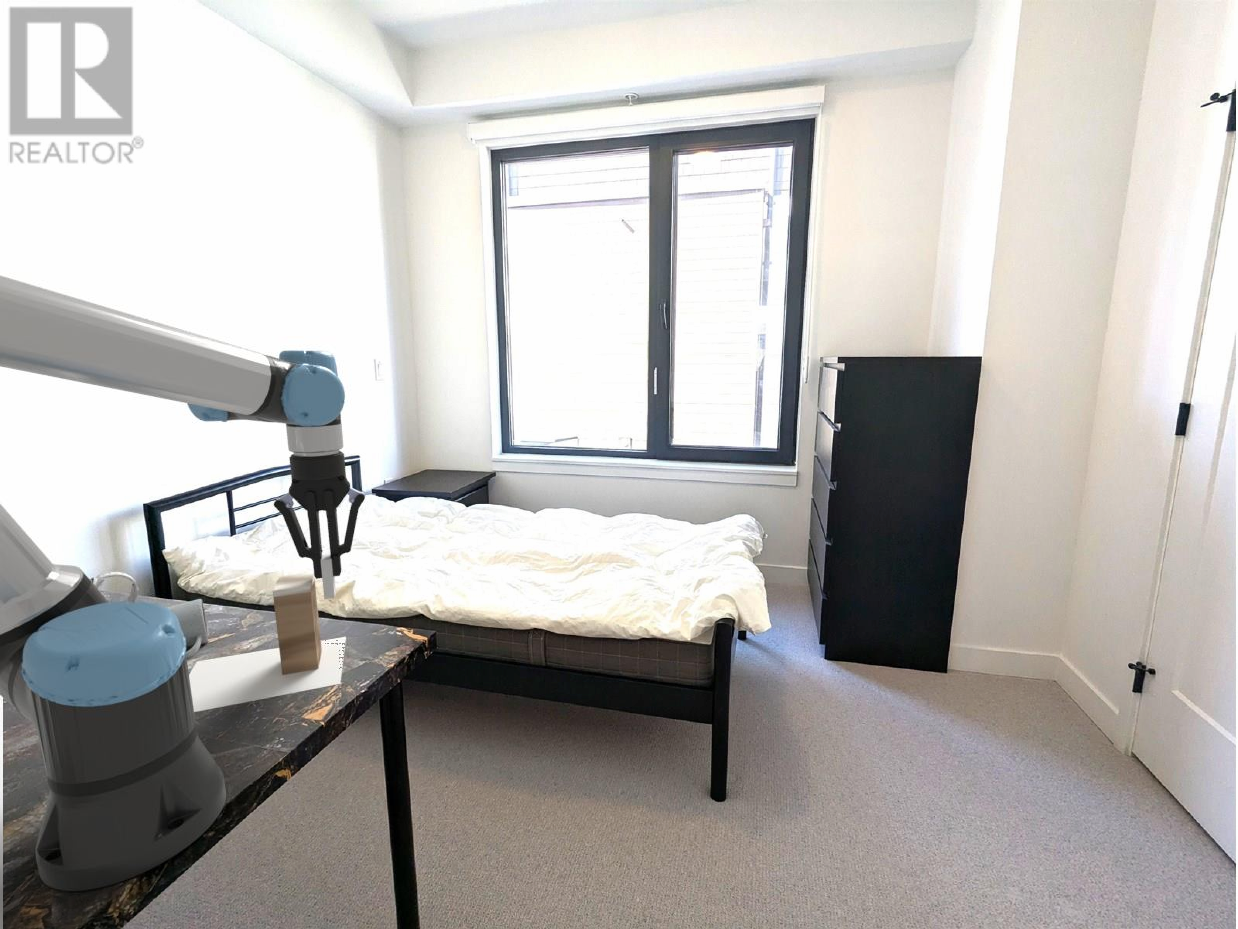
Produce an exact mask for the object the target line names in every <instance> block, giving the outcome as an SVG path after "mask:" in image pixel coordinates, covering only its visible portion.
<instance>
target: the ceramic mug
mask: <svg viewBox="0 0 1238 929" xmlns="http://www.w3.org/2000/svg"><path fill="white" fill-rule="evenodd" d="M166 608H168V609H169V610H171V611H172V612H173V613H174V614H175V615H176V616H177V618H178V620H179V623H180V627H181V630H182V632H183V634H184V635H183V636H184V637H185V639H186V648H189V647H191V648H190V649H189V650H186V658H187V659H189V658H191V657H193V656H195V655H196V654H197V653H198V651H199V650H200V648H201V645H203V644H206V643H209V641H210V640H209V638H208V637H209V636H210V634H209V627H208V621H207V616H206V610H205V606H204V601H203V599H202V598H198V599H194V600H190V601H187V602H186V601H185V602H183V603H179V604H175V605H172V606H169V607H166Z"/></svg>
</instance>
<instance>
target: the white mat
mask: <svg viewBox="0 0 1238 929" xmlns="http://www.w3.org/2000/svg"><path fill="white" fill-rule="evenodd" d="M325 640H326V641H325ZM325 640H321V647H322V653H321V658H320V663H319V668H318V669H314V670H309V671H303V672H298V673H292V674H287V675H282V667H281V659H280V650H279V647H276V648H269V649H264V650H257V651H252V652H246V653H240V654H233V655H228V656H223V657H222V656H221V657H216V658H210V659H209V658H208V659H204V660H197V661H196V662H195V664H194V665H193V667H192V669H191V671H190V673H189V679H190V686H191V693H192V700H193V707H194V713H198V712H203V711H208V710H214V709H218V708H219V709H220V708H224V707H229V706H235V705H238V704H246V703H249V702H254V701H261V700H264V699H270V698H275V697H280V696H285V695H291V694H294V693H295V694H296V693H301V692H307V691H310V690H316V689H322V688H326V687H332V686H336V685H341V684H342V683H341V681H342V673H343V665H344V658H343V659H342V658H340V659H339V657H344V656H345V648H346V640H347V636H342V637H335V638H331V639H330V638H329V639H325ZM336 640H338V641H336ZM325 643H326V644H325ZM327 643H329V644H327ZM331 643H334V644H331ZM335 643H338V645H337V644H335ZM339 643H341V644H339ZM342 643H345V645H344V644H343V645H342ZM342 647H345V648H344V649H343V648H342ZM339 650H340V651H339ZM342 650H344V652H343V651H342ZM339 654H341V655H339ZM343 654H344V655H343ZM339 661H340V662H339ZM342 661H343V662H342ZM340 664H341V665H340ZM342 664H343V665H342ZM340 667H342V668H340ZM339 668H340V669H339Z"/></svg>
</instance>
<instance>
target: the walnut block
mask: <svg viewBox="0 0 1238 929" xmlns="http://www.w3.org/2000/svg"><path fill="white" fill-rule="evenodd" d="M315 580H316V578H315V576H314V572H310V573H309V572H308V573H300V574H292V575H286V576H285V575H284V576H279V577H278V579H277V580H276V583H275V585H274V587H273V589H272V596H273V603H274V604H273V605H274V614H275V615H274V616H275V623H276V624H275V625H276V632H277V640H278V648H279V650H280V659H281V667H282V675H287V674H292V673H298V672H303V671H309V670H314V669H318V668H319V663H320V658H321V653H322V647H321V641H322V639H321V638H322V637H321V629H320V628H321V627H320V620H319V610H318V598H317V588H316V581H315Z"/></svg>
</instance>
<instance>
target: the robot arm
mask: <svg viewBox="0 0 1238 929" xmlns="http://www.w3.org/2000/svg"><path fill="white" fill-rule="evenodd" d="M0 367H1V368H2V367H3V368H6V369H12V370H18V371H22V372H28V373H31V374H37V375H42V376H47V377H53V378H56V379H57V378H58V379H61V380H66V381H67V380H68V381H72V382H73V381H74V382H78V383H82V384H88V385H92V386H98V387H102V388H103V387H104V388H106V389H107V388H108V389H113V390H119V391H122V392H128V393H134V394H137V395H142V396H143V395H144V396H147V397H154V398H160V399H164V400H169V401H174V402H179V403H185V404H186V405H187V407H188V408H189V410H190V412H191V414H192V415H193V416H194V417H195V418H196V419H198V420H200V421H203V422H222V423H227V422H229V421H244V420H245V421H254V422H264V423H279V424H285V430H286V437H287V438H286V439H287V447H288V451H289V452H292V454H291V455H290V456H289V458H288V459H289V467H290V477H291V484H290V486H289V488H288V492H287V493H286V494H284V495H283V496H279V497H277V498H276V499H275V501H274V502H273V507H274V508H275V509H276V510H277V511H278V512H279V513H280V514H281V515H282V517H283V520H284V522H285V524H286V527H287V530H288V532H289V534H290V535H289V536H290V538H291V539H292V542H293V544H294V547H295V550H296V552H297V554H298V556H299V557H300V558H304V559H305V558H308V559H310V560H311V561H312V567H313V573H314V578H315V580H317V579H322V591H323V600H329V599H335V598H336V592H337V588H336V579H335V578H336V577H339V576H341V573H342V560H341V556H342V555H343V554H349V553H350V552H351V551H352V547H353V541H354V534H355V529H356V525H357V520H358V514H359V509H360V507H361V506H362V504H363V503H364V501H365V500H366V492H365V491H363V490H357V489H355V488H353V487H351V483H350V482H349V480H348V479H347V475H346V474H347V472H346V461H345V453H344V452H343V451H341V450H342V449H343V448H344V436H343V426H342V418H341V416H342V415H341V412H342V410H344V409H343V408H344V404H345V400H346V393H345V387H344V385H343V382H342V381H341V379H340V378H339V375H338V367H337V362H336V358H335V356H334V354H333V353H331V352H329V351H326V350H289V349H288V350H282V351H281V352H279V355H278V357H275V356H272V355H268V354H262V353H260V352H259V351H255V350H251V349H249V348H246V347H245V348H244V347H241V346H237V345H235V344H232V343H231V344H230V343H228V342H224V341H221V340H218V339H214V338H211V337H208V336H204V335H201V334H197V333H195V332H191V331H187V330H184V329H181V328H178V327H174V326H171V325H167V324H164V323H160V322H157V321H154V320H151V319H148V318H144V317H140V316H136V315H134V314H131V313H127V312H125V311H124V312H123V311H120V310H118V309H117V310H116V309H114V308H110V307H107V306H103V305H101V304H97V303H94V302H90V301H86V300H84V299H80V298H78V297H74V296H71V295H66V294H64V293H60V292H57V291H54V290H50V289H47V288H43V287H41V286H40V287H39V286H37V285H34V284H30V283H27V282H25V281H20V280H16V279H13V278H10V277H8V276H7V277H6V276H3V275H0ZM347 495H348V502H349V504H350V509H349V514H348V519H347V525H346V530H345V535H344V541H343V543H342V544H340V536H339V535H340V534H339V523H338V513H337V511H338V507H340V505H341V504H342V502H343V501H344V499H345V497H346V496H347ZM293 499H294V501H296V502H297V504H299V506H300V507H302V508H303V509H304V510H305V511H306V513H307V520H308V527H309V528H308V529H309V540H310V547H309V545H308V542H307V538H305V534H304V532H303V530H302V527H301V524H300V521H299V519H298V517H297V514H296V512H295V510H294V508H293V506H294V501H293ZM321 511H325V513H326V516H325V517H326V522H327V533H328V543H329V553H330V554H323V547H322V546H323V545H322V537H321V536H322V535H321V534H322V533H321V524H320V512H321ZM90 579H91V578H89V577H88V576H87V575H86V574H85V572H84V571H83V570H82V569H81V568H80V567H78V566H76V565H70V564H69V565H68V564H55V563H53V562H52V561H51V560H50V559H49V558H48V557H47V556H46V554H45V553H44V552H43V551H42V550H41V549H40V547H39V546H38V545H37V544H36V543H35V542H34V540H33V539H32V537H30V536H29V535H28V534H27V532H26V531H25V529H23V527H22V526H20V525H19V523H18V522H17V521H16V520H15V518H14V517H12V515H11V514H10V513H9V512H8V511H7V509H6V508H5V507H4V506H3V505H2V504H1V503H0V696H1V697H2V698H3V699H4V700H5V701H6V702H8V703H9V704H10V705H11V706H12V707H13V708H14V709H16V711H18V712H19V713H20V714H21V715H22V716H24V717H25V718H26V719H27V720H28V721H29V722H30V723H31V724H32V725H33V727H34V728H35V731H36V734H37V736H38V740H39V746H40V750H41V754H42V755H41V756H42V761H43V764H44V770H45V775H46V779H47V783H48V784H47V785H48V788H49V794H48V797H47V798H48V799H47V802H46V805H45V809H44V810H45V811H44V814H43V818H42V821H41V825H40V830H39V833H38V837H37V841H36V845H35V859H36V860H35V861H36V864H37V869H38V874H39V878H40V879H41V881H42V883H44V884H45V885H46V886H48V887H50V888H52V889H55V890H59V891H65V892H66V891H67V892H79V891H88V890H95V889H96V890H97V889H99V888H104V887H109V886H111V885H115V884H118V883H121V882H123V881H127V880H129V879H132V878H134V877H136V876H139V875H141V874H144V873H145V872H147V871H150V870H151V869H154V868H156V867H157V866H159V865H161V864H163V863H165V862H167V861H168V860H170V859H172V858H173V857H174V856H176V855H178V854H179V853H181V852H182V851H183V850H185V849H187V848H188V847H189V846H191V845H192V844H193V843H194V842H195V841H196V840H197V839H199V838H200V837H201V836H202V835H203V834H204V833H205V832H206V831H207V830H208V829H209V828H210V827H211V826H212V825H213V823H214V822H215V821H216V819H217V818H218V817H219V815H221V812H222V810H223V809H224V805H225V803H226V800H227V791H226V783H225V776H224V773H223V771H222V769H221V767H220V766H219V765H218V763H217V762H216V761H215V760H216V759H214V758H213V756H212V755H211V753H210V751H208V750H209V749H207V748H206V746H205V745H204V743H203V742H202V741H201V739H200V738H199V736H198V729H197V723H196V717H195V712H194V707H193V700H192V693H191V686H190V679H189V674H190V673H189V666H188V658H186V652H187V648H188V647H186V639H185V637H184V636H183V635H184V634H183V632H182V630H181V627H180V623H179V620H178V618H177V616H176V615H175V614H174V613H173V612H172V611H171V610H169V609H168V608H167V607H166V606H164V605H162V604H159V603H155V602H152V601H143V600H142V601H141V600H139V601H135V602H134V603H131V602H129V601H127V600H123V601H122V600H121V601H109V600H108V599H107V598H106V597H105V595H103V593H102V592H101V590H100V591H99V590H98V589H97V587H96V586H95V585H94V584H93V583H92V582H91V580H90Z"/></svg>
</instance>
